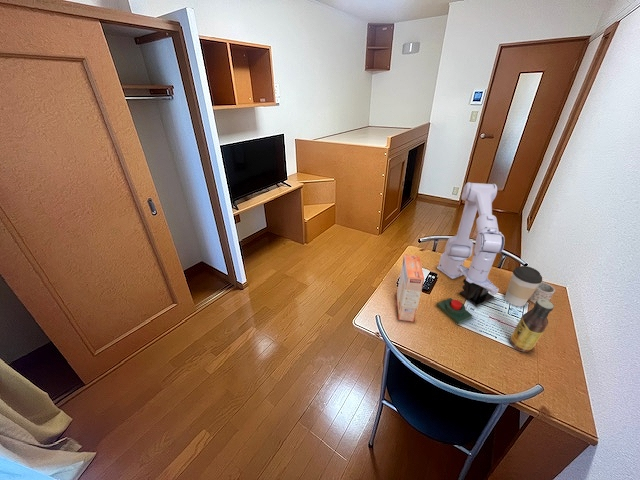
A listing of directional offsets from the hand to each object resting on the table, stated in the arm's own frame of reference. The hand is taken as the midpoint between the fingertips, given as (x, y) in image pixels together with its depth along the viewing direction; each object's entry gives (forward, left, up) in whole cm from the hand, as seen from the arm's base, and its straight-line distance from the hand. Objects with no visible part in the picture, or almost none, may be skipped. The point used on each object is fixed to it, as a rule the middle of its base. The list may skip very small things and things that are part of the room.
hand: (469, 296), depth 92 cm
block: (-3, -1, -10) cm, 11 cm away
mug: (+5, +34, -10) cm, 36 cm away
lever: (-5, +10, -4) cm, 12 cm away
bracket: (-5, +14, -10) cm, 18 cm away
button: (-3, -1, -7) cm, 8 cm away
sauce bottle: (+17, +7, -11) cm, 21 cm away
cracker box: (-13, -16, -10) cm, 23 cm away
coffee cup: (+3, +26, -10) cm, 28 cm away
